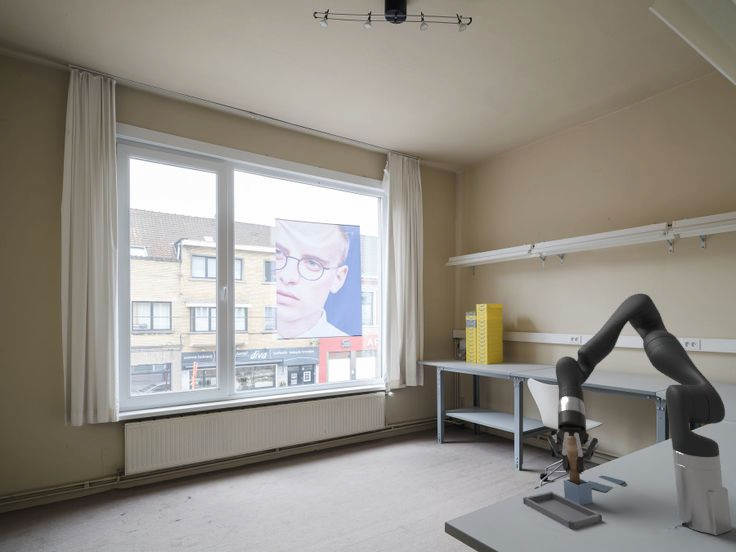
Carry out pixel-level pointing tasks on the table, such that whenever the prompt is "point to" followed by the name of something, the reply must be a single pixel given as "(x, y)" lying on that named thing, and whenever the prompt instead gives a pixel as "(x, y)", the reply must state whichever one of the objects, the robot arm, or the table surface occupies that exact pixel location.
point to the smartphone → (605, 488)
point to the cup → (578, 492)
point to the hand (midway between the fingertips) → (573, 471)
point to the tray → (562, 510)
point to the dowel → (572, 459)
